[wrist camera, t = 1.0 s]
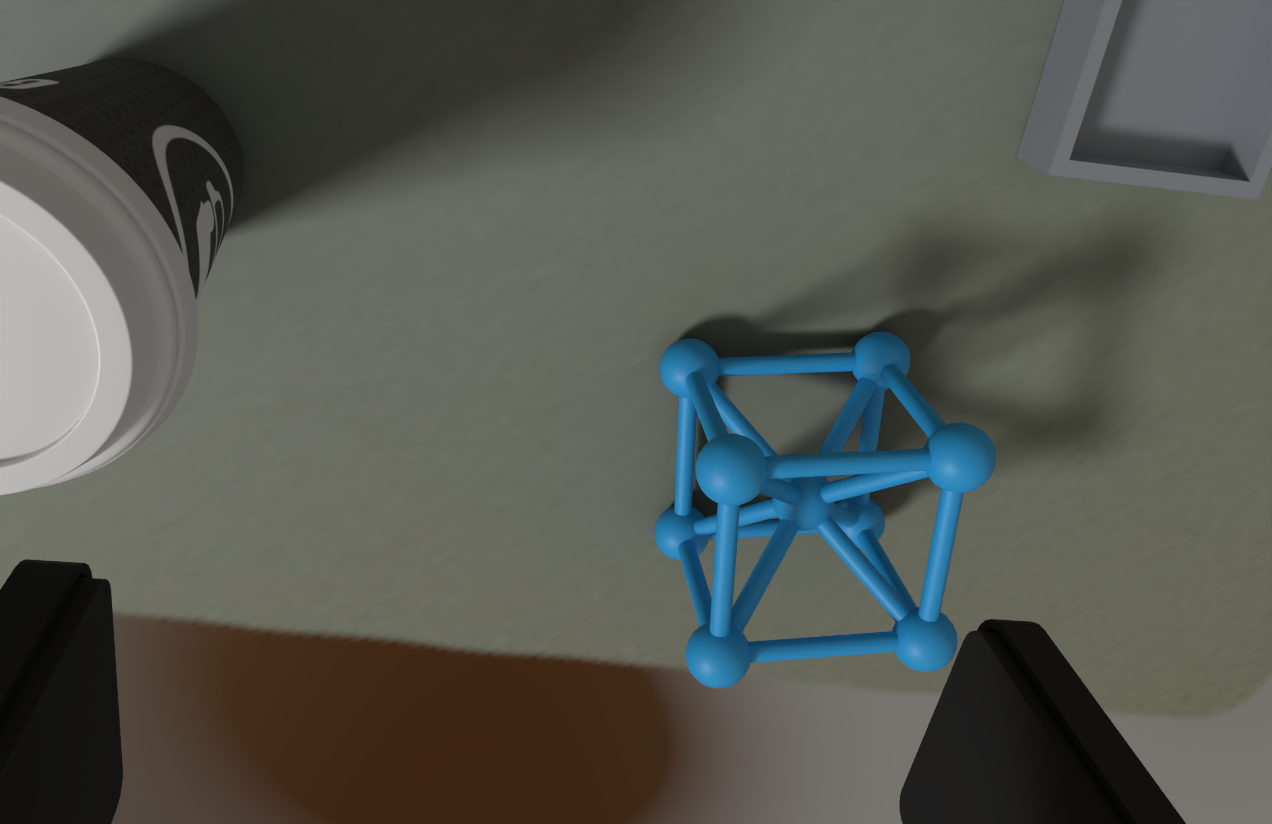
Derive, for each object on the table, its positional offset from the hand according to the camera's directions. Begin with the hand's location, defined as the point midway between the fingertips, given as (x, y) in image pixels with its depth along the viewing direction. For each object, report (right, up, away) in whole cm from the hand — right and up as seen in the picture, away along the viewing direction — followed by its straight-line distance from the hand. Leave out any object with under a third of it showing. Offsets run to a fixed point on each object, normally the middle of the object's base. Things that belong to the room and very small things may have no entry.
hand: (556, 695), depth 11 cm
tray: (+20, +17, +26) cm, 37 cm away
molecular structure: (+7, +2, +32) cm, 33 cm away
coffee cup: (-16, +12, +23) cm, 31 cm away
